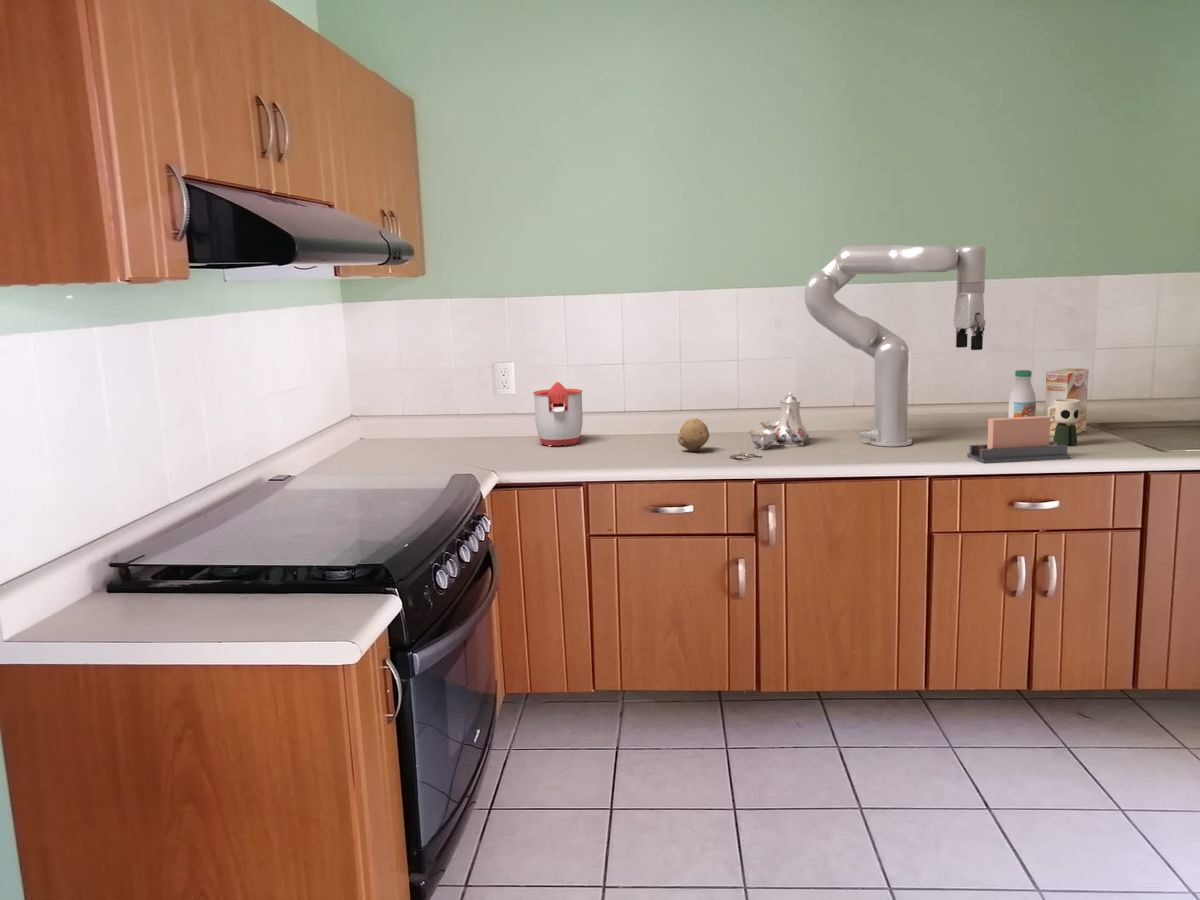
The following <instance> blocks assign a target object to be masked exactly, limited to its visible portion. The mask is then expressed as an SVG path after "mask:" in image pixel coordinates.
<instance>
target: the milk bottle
mask: <svg viewBox="0 0 1200 900" xmlns="http://www.w3.org/2000/svg"><path fill="white" fill-rule="evenodd" d="M1032 373H1033V372H1032V370H1028V369H1021V370H1020V369H1017V370H1015V371H1014V378H1015V382H1014V385H1013V387H1012V389H1011V391H1010V394H1009V397H1008V412H1007V418H1013V417H1033V416H1036V415H1037V414H1036V411H1037V410H1036V409H1037V403H1036V402H1037V400H1036V399H1037V398H1036V393H1035V390H1034V388H1033V386H1032V381H1031V378H1032V375H1033V374H1032Z"/></svg>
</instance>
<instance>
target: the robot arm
mask: <svg viewBox="0 0 1200 900" xmlns="http://www.w3.org/2000/svg"><path fill="white" fill-rule="evenodd" d="M986 253H987V252H986V247H985V246H984V245H980V244H968V245H961V246H950V245H946V244H945V245H904V244H896V243H895V244H849V245H846V246H843V247H842V248H841V249H840V250H839V251H838V253H837V255H835V256H834V257H833V259H831V260H830V262H827V264H825V266H823V267H822V268H821V269H820V270H819V271H818V272H816V273H813V274H812V275H811V276H810V277H809V278H807V281H806V282H805V287H804V302H805V307H806V309H807V312H808V313H809V315H811V317H812V318H813V319H814V320H815V321H816V322H817V323H818V324H820V325H821V326H822V327H824V328H826V329H827V330H828V331H830V332H831V333H833V334H834V335H835V336H836V337H838V338H840V339H841V340H843V341H844V342H845V343H847V344H848V345H849V346H850V347H852V348H854V349H856V350H860V351H862V352H863V353H865V354H867V355H868V356H869V357H871V358H872V359H874V414H873V415H874V416H873V417H874V418H873V419H874V422H873V423H874V425H873V426H874V427H871V428H870V430H868V431H858V433H857V437H858V438H859V439H862V438H863V439H864V438H865V439H868V444H870V445H872V446H878V447H904V446H910V445H912V444H913V439H912V438H910V437H908V398H909V394H908V393H909V391H908V390H909V389H908V387H909V360H910V359H909V356H910V353H909V352H910V351H909V346H908V345H907V344H908V343H906V341H905V339H903V338H901V337H900V336H899V335H897V334H896V333H894V332H892V331H891V330H889V329H888V328H886V327H885V326H883V325H881V324H880V323H879V322H877V321H875V320H874V319H872V318H870V317H867V316H863V315H862V316H861V315H859V313H856V312H855V311H853V310H852V309H850V308H849V307H848V306H846V305H845V304H843V303H841V302H839V300H837V299H836V298H835V295H836V294H837V293H838V292H839V291H840V290H841V289H842V288H843V287H845V286H846V285H847V284H848V283H849V282H850V281H851V280H852V279H853V278H855V277H856V275H895V274H896V275H900V274H906V273H947V272H951V271H957V272H956V276H957V277H956V299H955V304H954V317H953V326H954V327H955V337H956V338H955V348H959V349H960V348H967V347H968V333H967V332H968V330H969V329H970V331H971V334H972V335H971V336H970V337H971V338H970V350H971V351H982V350H983V346H984V345H983V343H984V342H983V340H984V335H985V333H984V331H985V327H986V320H985V301H984V294H985V288H986V285H985V284H986V279H985V278H986V255H987V254H986Z"/></svg>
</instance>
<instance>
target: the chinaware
mask: <svg viewBox="0 0 1200 900" xmlns="http://www.w3.org/2000/svg"><path fill="white" fill-rule="evenodd" d="M801 402H802V400H800V399H797V397H796V396H794V395H793V393H792V392H791V391H789V392H788V394H787V395H786V396H785V397H784V399H782V400H779V403H780V417H779V420H778V421H773V420H767V421H765V422H762V421H761V422H760V425H761V426H762V427H763V428H762V429H759V430H754V429H752V430H749V432H748V433H749V435H750V438H751V441H752V443H753V444H754V445H755V446H757V448H762V449H761V450H765V449H764V448H769V447H770V446H771V445H772V444H773V443H774V442H776V444H779V445H801V444H804V445H805V442H806V441H807V440H808V439H809V433H808V430H807V429H806V428H805V426H804V423H803V422H802V419H801V413H800V406H801Z"/></svg>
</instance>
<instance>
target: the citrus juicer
mask: <svg viewBox="0 0 1200 900" xmlns="http://www.w3.org/2000/svg"><path fill="white" fill-rule="evenodd" d="M532 394H533V397H534V415H535V420H534V421H535V426H536V432H537V434H538V437H539V441H540V443H541V444H542V445H543V444H544V445H543V446H547V445H553V446H552V447H561V445H564V446H567V445H572V444H573V445H575V444H578V443H579V441H580V438H581V433H582V428H583V421H584V420H583V418H584V417H583V415H584V414H583V390H582V389H578V388H565V386H564V384H562V383H560V382H559V381H556V382H555V383H554V384H553V385H552V386H551V388H550V389H541V390H536V391H534V392H533V393H532ZM573 445H572V446H573Z"/></svg>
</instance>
